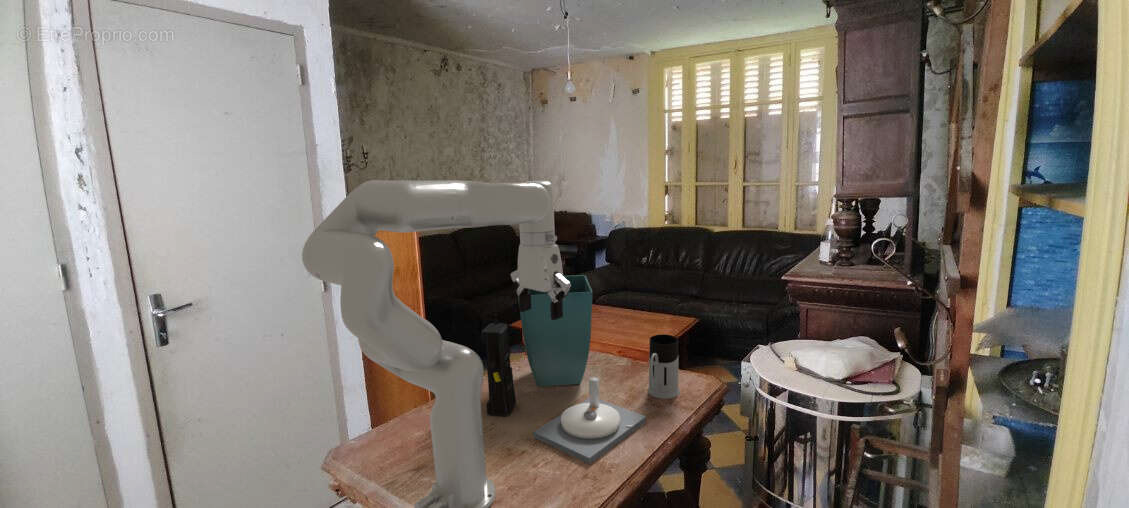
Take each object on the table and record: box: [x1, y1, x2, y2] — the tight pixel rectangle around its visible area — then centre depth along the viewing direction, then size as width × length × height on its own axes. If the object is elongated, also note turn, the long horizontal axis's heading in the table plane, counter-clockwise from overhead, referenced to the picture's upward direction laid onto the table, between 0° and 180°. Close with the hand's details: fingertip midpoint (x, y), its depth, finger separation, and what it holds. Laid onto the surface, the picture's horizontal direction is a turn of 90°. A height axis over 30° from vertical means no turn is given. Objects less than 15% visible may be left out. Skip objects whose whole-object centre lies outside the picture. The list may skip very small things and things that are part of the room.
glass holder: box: [647, 333, 681, 400], centre depth 139 cm, size 9×14×15 cm, turn 151°
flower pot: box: [517, 274, 593, 387], centre depth 152 cm, size 20×20×28 cm
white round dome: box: [561, 376, 620, 439], centre depth 124 cm, size 14×14×8 cm
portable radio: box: [480, 314, 517, 417], centre depth 133 cm, size 8×6×25 cm
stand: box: [532, 397, 647, 465], centre depth 125 cm, size 22×17×2 cm
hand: (541, 314), depth 116 cm, fingers open, 9 cm apart
